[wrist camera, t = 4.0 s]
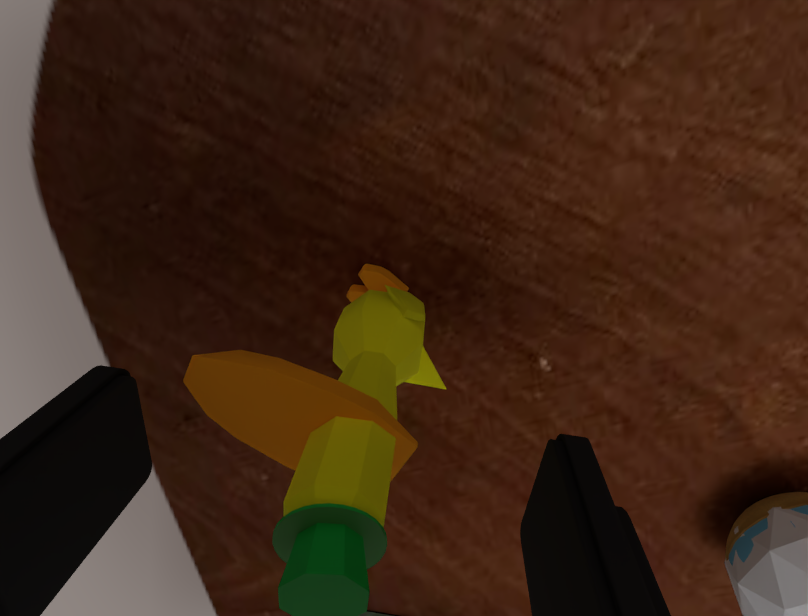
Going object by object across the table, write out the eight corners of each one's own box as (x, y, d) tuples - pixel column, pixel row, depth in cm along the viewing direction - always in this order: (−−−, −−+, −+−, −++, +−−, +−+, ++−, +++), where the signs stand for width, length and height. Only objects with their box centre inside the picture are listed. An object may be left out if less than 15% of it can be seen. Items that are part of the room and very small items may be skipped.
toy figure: (282, 282, 18) (49, 562, 8) (317, 206, 17) (88, 421, 6) (425, 356, 19) (401, 696, 9) (470, 291, 18) (510, 605, 7)
